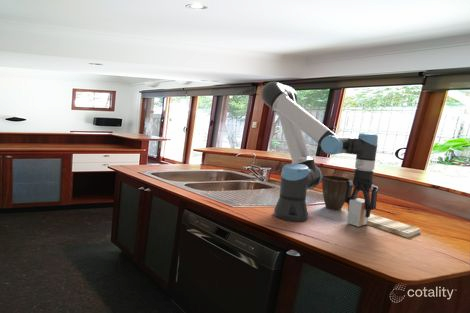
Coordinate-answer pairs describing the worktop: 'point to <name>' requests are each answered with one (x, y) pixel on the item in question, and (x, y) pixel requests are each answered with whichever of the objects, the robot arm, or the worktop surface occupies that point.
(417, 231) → the board
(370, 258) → the worktop surface
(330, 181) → the plant pot
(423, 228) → the worktop surface
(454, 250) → the worktop surface
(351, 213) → the small box
